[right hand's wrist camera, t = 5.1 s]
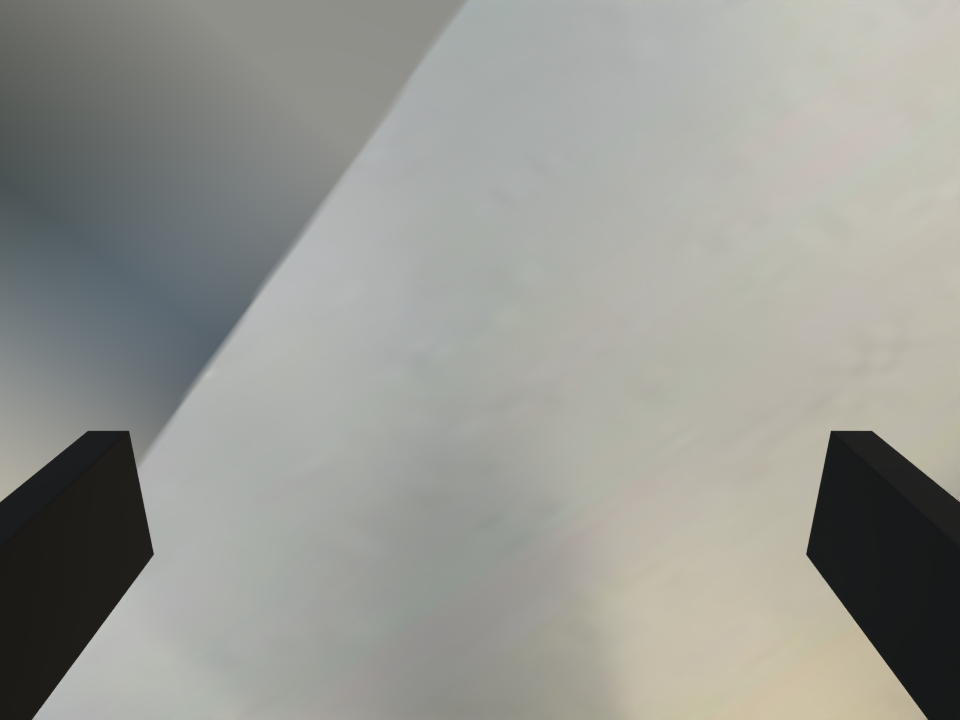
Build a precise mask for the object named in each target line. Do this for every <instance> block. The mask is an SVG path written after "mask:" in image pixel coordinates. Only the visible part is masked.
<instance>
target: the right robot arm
mask: <svg viewBox="0 0 960 720" xmlns="http://www.w3.org/2000/svg"><path fill="white" fill-rule="evenodd" d="M153 555H154V553H153V548H152V543H151V538H150V533H149V528H148V523H147V518H146V513H145V508H144V503H143V498H142V493H141V488H140V483H139V478H138V473H137V468H136V463H135V458H134V453H133V448H132V443H131V438H130V433H129V431H87V432H86V433H85V434H84V435H82V436H81V437H80V438H79V439H78V440H76V441H75V442H74V443H73V444H71V445H70V446H69V447H68V448H66V449H65V450H64V451H63V452H62V453H60V454H59V455H58V456H57V457H55V458H54V459H53V460H52V461H50V462H49V463H48V464H47V465H46V466H44V467H43V468H42V469H41V470H39V471H38V472H37V473H36V474H35V475H33V476H32V477H31V478H29V479H28V480H27V481H26V482H25V483H23V484H22V485H21V486H20V487H18V488H17V489H16V490H15V491H14V492H12V493H11V494H10V495H9V496H7V497H6V498H5V499H4V500H2V501H1V502H0V720H32V719H33V718H34V716H35V715H36V713H37V712H38V711H39V709H40V708H41V707H42V705H43V704H44V703H45V701H46V700H47V699H48V697H49V696H50V694H51V693H52V692H53V690H54V689H55V688H56V686H57V685H58V684H59V682H60V681H61V680H62V678H63V677H64V676H65V674H66V673H67V671H68V670H69V669H70V667H71V666H72V665H73V663H74V662H75V661H76V659H77V658H78V657H79V655H80V654H81V652H82V651H83V650H84V648H85V647H86V646H87V644H88V643H89V642H90V640H91V639H92V638H93V636H94V635H95V634H96V632H97V631H98V629H99V628H100V627H101V625H102V624H103V623H104V621H105V620H106V619H107V617H108V616H109V615H110V613H111V612H112V610H113V609H114V608H115V606H116V605H117V604H118V602H119V601H120V600H121V598H122V597H123V596H124V594H125V593H126V592H127V590H128V589H129V587H130V586H131V585H132V583H133V582H134V581H135V579H136V578H137V577H138V575H139V574H140V573H141V571H142V570H143V568H144V567H145V566H146V564H147V563H148V562H149V560H150V559H151V558H152V556H153ZM806 555H807V556H808V558H809V559H810V560H811V562H812V563H813V564H814V566H815V567H816V568H817V570H818V571H819V573H820V574H821V575H822V577H823V578H824V579H825V581H826V582H827V583H828V585H829V586H830V587H831V589H832V590H833V592H834V593H835V594H836V596H837V597H838V598H839V600H840V601H841V602H842V604H843V605H844V606H845V608H846V609H847V610H848V612H849V613H850V615H851V616H852V617H853V619H854V620H855V621H856V623H857V624H858V625H859V627H860V628H861V629H862V631H863V632H864V634H865V635H866V636H867V638H868V639H869V640H870V642H871V643H872V644H873V646H874V647H875V648H876V650H877V651H878V652H879V654H880V655H881V657H882V658H883V659H884V661H885V662H886V663H887V665H888V666H889V667H890V669H891V670H892V671H893V673H894V674H895V676H896V677H897V678H898V680H899V681H900V682H901V684H902V685H903V686H904V688H905V689H906V690H907V692H908V693H909V694H910V696H911V697H912V699H913V700H914V701H915V703H916V704H917V705H918V707H919V708H920V709H921V711H922V712H923V713H924V715H925V716H926V718H927V719H928V720H960V502H959V501H958V500H956V499H955V498H954V497H953V496H951V495H950V494H949V493H948V492H947V491H945V490H944V489H943V488H942V487H940V486H939V485H938V484H937V483H935V482H934V481H933V480H932V479H931V478H929V477H928V476H927V475H926V474H924V473H923V472H922V471H921V470H919V469H918V468H917V467H916V466H914V465H913V464H912V463H911V462H910V461H908V460H907V459H906V458H905V457H903V456H902V455H901V454H900V453H898V452H897V451H896V450H895V449H894V448H892V447H891V446H890V445H889V444H887V443H886V442H885V441H884V440H882V439H881V438H880V437H879V436H878V435H876V434H875V433H874V432H873V431H831V433H830V438H829V443H828V448H827V453H826V458H825V463H824V468H823V473H822V478H821V483H820V488H819V493H818V498H817V503H816V508H815V513H814V518H813V523H812V528H811V533H810V538H809V543H808V548H807V553H806Z"/></svg>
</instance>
